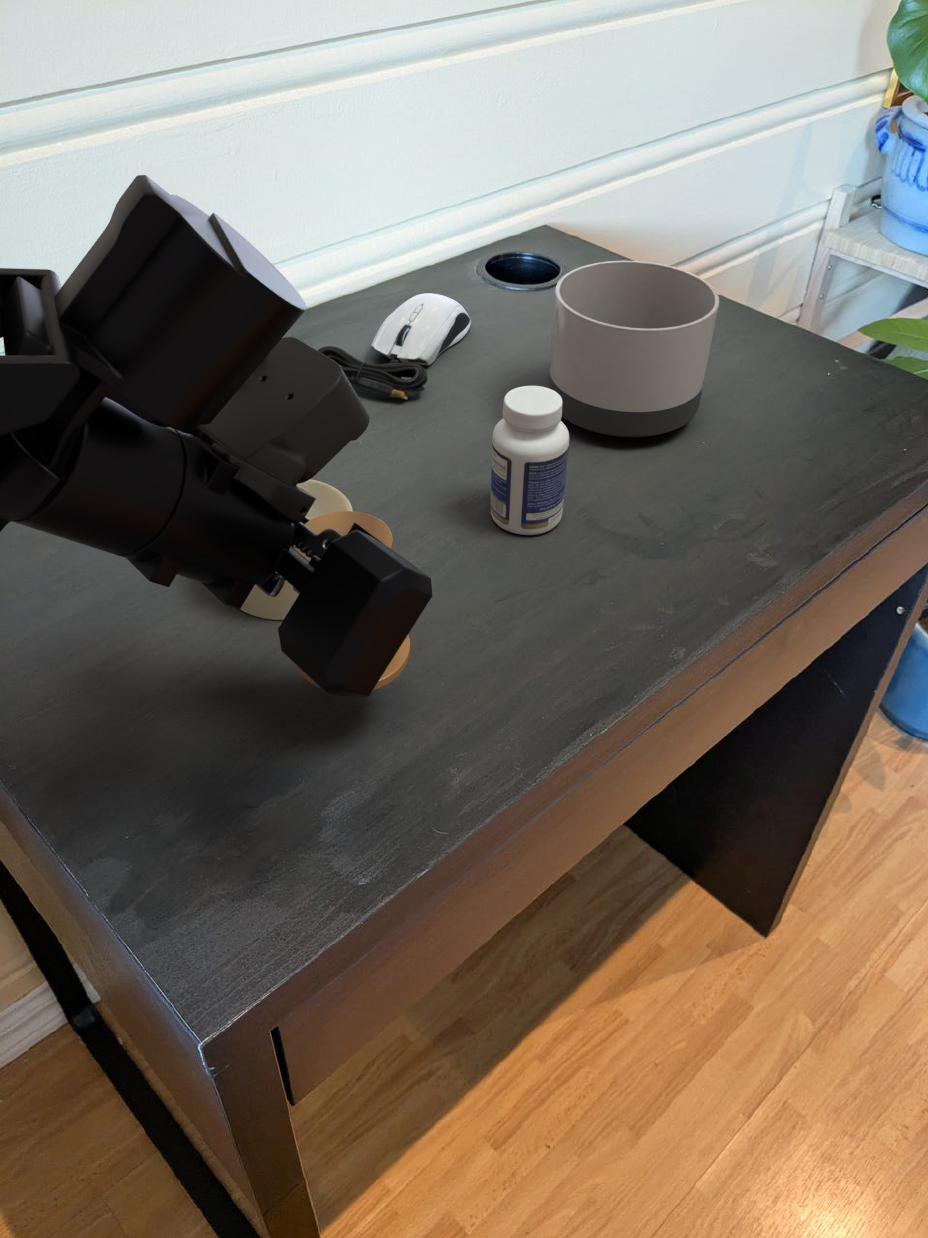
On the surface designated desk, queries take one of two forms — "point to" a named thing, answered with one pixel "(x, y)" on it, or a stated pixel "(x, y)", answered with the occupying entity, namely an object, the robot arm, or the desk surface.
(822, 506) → the desk surface
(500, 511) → the pill bottle
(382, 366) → the computer mouse
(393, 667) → the flanged wooden cylinder
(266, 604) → the cream ceramic pot
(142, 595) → the desk surface
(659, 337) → the planter
